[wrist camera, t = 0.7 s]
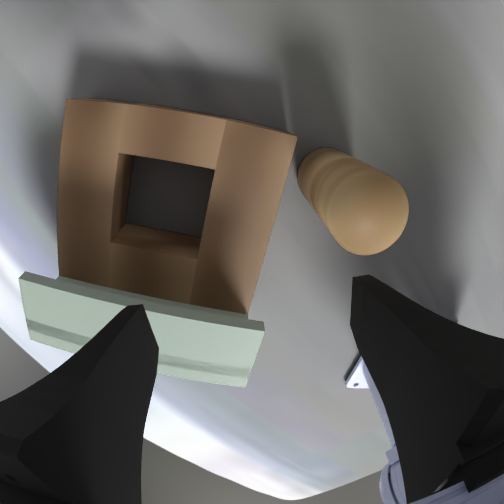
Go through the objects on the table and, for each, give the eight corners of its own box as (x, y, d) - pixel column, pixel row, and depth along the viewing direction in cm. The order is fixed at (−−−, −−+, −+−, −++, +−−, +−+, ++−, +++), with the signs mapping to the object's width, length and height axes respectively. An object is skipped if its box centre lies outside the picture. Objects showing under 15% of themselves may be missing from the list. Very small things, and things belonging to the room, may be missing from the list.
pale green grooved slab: (254, 256, 21) (264, 331, 14) (240, 305, 22) (245, 387, 16) (77, 221, 19) (18, 278, 12) (77, 272, 21) (30, 339, 14)
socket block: (287, 131, 18) (297, 136, 15) (240, 305, 22) (242, 333, 20) (89, 98, 16) (66, 99, 13) (77, 272, 21) (60, 295, 18)
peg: (361, 157, 18) (419, 186, 12) (344, 210, 20) (390, 261, 14) (306, 140, 18) (346, 161, 12) (290, 197, 19) (318, 246, 13)
